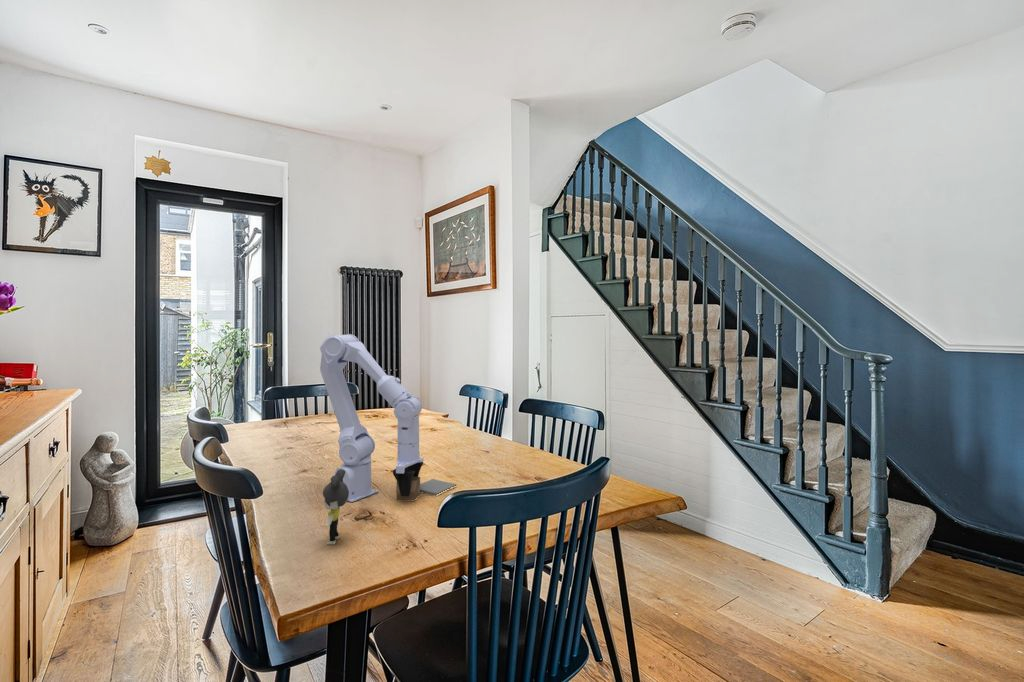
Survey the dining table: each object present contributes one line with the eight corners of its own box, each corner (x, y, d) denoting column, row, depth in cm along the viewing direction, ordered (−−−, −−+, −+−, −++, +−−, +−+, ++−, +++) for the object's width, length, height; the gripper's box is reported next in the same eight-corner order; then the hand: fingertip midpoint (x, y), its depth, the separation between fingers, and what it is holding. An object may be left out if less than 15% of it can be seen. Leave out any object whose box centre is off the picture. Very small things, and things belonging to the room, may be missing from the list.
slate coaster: (436, 496, 136) (436, 493, 136) (411, 490, 141) (411, 487, 140) (456, 486, 144) (456, 484, 144) (432, 481, 148) (432, 479, 148)
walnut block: (414, 501, 132) (414, 482, 132) (396, 500, 133) (396, 481, 133) (420, 494, 137) (420, 476, 137) (402, 494, 138) (402, 476, 138)
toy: (329, 533, 112) (328, 467, 111) (354, 532, 112) (353, 466, 112) (317, 550, 103) (316, 479, 103) (344, 550, 104) (343, 478, 103)
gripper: (414, 449, 127) (415, 502, 127) (430, 436, 141) (430, 483, 142) (388, 448, 128) (388, 501, 128) (405, 435, 142) (405, 482, 143)
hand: (408, 492), depth 135 cm, fingers open, 5 cm apart
